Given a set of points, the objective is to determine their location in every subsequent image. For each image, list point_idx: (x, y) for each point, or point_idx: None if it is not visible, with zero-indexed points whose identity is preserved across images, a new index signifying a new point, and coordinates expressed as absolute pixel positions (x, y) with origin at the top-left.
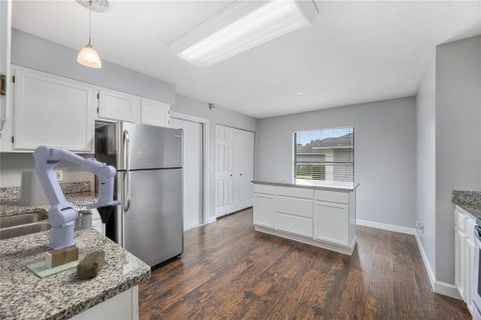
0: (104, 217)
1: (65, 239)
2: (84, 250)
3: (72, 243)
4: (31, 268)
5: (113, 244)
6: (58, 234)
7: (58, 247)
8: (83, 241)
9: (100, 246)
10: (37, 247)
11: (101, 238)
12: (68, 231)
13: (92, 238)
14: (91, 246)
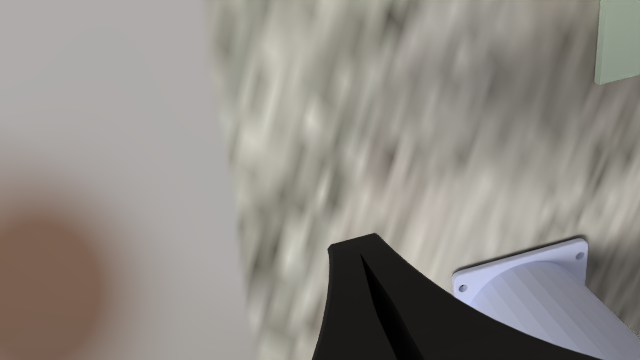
0: (426, 282)
1: (559, 297)
2: (457, 113)
3: (475, 294)
4: None
5: (225, 111)
6: (634, 335)
7: (563, 261)
8: None
9: (334, 131)
10: None
11: (273, 322)
12: (582, 350)
13: None
14: (388, 177)
